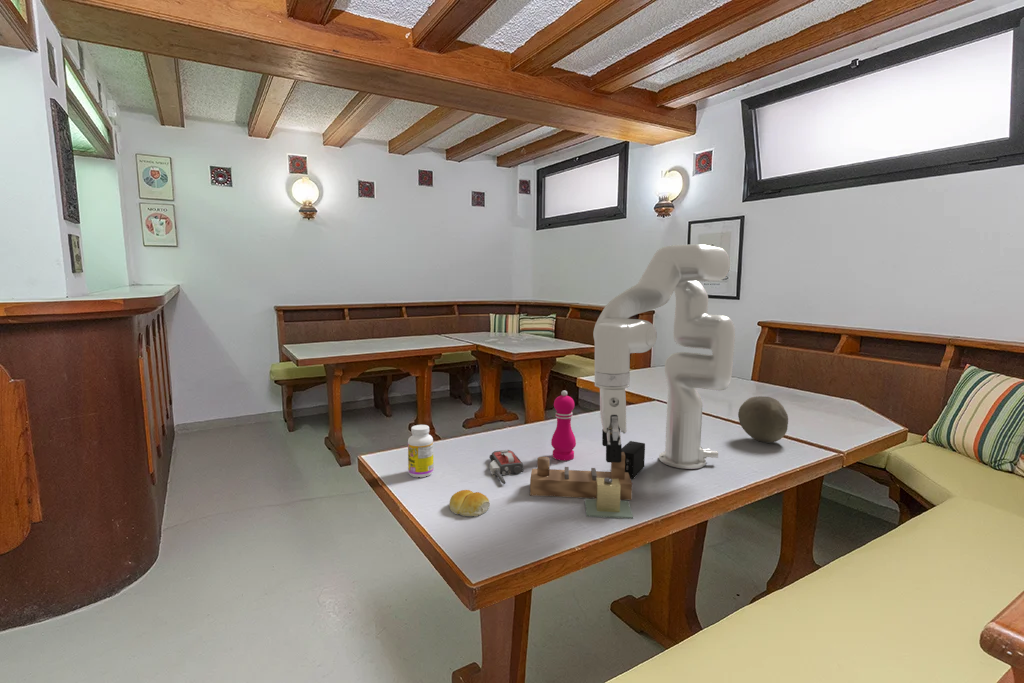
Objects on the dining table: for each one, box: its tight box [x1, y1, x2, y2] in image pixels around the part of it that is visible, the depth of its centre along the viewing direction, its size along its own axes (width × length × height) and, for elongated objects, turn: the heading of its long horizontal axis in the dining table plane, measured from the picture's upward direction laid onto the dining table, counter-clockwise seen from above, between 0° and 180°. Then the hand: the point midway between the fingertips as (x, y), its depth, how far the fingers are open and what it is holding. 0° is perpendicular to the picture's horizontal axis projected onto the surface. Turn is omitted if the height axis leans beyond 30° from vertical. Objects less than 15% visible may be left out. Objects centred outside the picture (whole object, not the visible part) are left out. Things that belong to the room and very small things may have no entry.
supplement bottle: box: [407, 424, 434, 478], centre depth 131 cm, size 7×7×13 cm
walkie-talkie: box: [489, 449, 524, 485], centre depth 133 cm, size 9×4×20 cm
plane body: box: [529, 452, 633, 501], centre depth 120 cm, size 24×7×10 cm, turn 84°
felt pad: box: [584, 498, 634, 520], centre depth 111 cm, size 10×8×1 cm
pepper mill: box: [550, 390, 577, 461], centre depth 143 cm, size 7×7×20 cm
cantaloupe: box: [737, 395, 789, 444], centre depth 158 cm, size 14×14×15 cm
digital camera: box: [621, 440, 646, 480], centre depth 133 cm, size 10×5×7 cm, turn 149°
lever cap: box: [595, 478, 621, 512], centre depth 111 cm, size 5×4×7 cm
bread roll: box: [448, 489, 491, 517], centre depth 111 cm, size 8×9×4 cm
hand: (611, 453), depth 110 cm, fingers open, 9 cm apart
